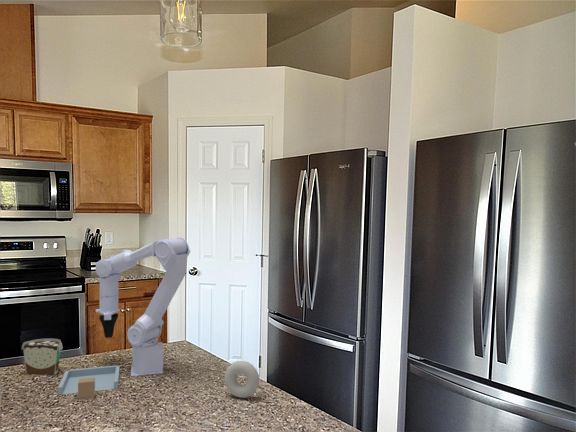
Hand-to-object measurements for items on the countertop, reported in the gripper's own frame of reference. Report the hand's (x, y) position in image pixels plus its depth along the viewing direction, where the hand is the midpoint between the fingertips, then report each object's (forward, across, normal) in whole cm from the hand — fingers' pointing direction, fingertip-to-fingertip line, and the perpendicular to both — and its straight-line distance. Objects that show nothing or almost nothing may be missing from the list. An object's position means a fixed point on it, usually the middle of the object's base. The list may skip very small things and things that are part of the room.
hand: (108, 337), depth 148 cm
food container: (+10, +1, -18) cm, 20 cm away
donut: (+10, +37, +36) cm, 53 cm away
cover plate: (+10, +29, -4) cm, 31 cm away
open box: (+9, +15, -4) cm, 18 cm away
